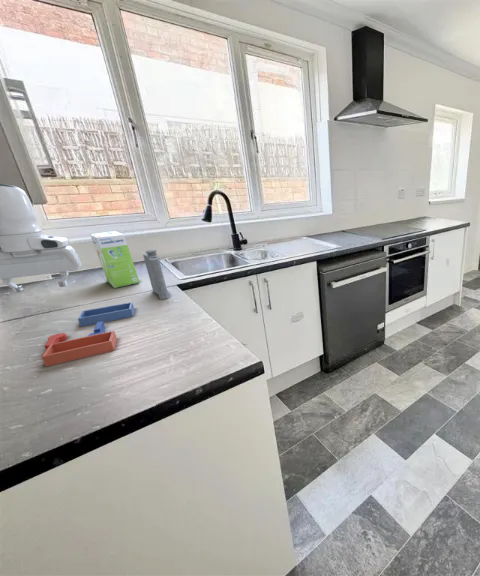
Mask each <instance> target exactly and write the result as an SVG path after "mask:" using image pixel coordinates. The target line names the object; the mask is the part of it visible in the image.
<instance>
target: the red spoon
mask: <svg viewBox="0 0 480 576" xmlns="http://www.w3.org/2000/svg"><path fill="white" fill-rule="evenodd" d="M67 340H68V335H67V333H66V332H60V333H54V334H52V335H50V336H48V337H47V342H46V343H45V345H44V348H45V351H46V350H47V348H48V347H49V345H50V344H54V343H59V342H63V341H67Z"/></svg>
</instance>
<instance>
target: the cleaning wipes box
mask: <svg viewBox="0 0 480 576" xmlns="http://www.w3.org/2000/svg"><path fill="white" fill-rule="evenodd" d="M90 238H91V240H92V243H93V246H94V248H95V251H96V254H97V257H98V260H99V262H100V265H101V268H102V271H103V273H104V277H105V279H106V282H107V283H108V284H109V285H111V286H112V287H113V288H114V289H117V288H121V287H122V288H123V287H127V286H130V285H135V284H139V283H140V279H139V275H138V273H137V270H136V267H135V264H134V261H133V258H132V255H131V252H130V249H129V246H128V242H127V239H126V236H125V234H123V233H121V232H118V231H116V230H114V231H113V230H112V231H105V232H97V233H91V234H90Z"/></svg>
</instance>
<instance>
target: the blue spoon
mask: <svg viewBox="0 0 480 576" xmlns="http://www.w3.org/2000/svg"><path fill="white" fill-rule="evenodd" d="M105 326H106V325H105V322H103V321H101V322H97V324H95V326H94V328H93V332H91V333H89V334H88V335H87V336H92V335H96V334H101V333H106V331H105V328H106V327H105Z"/></svg>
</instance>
